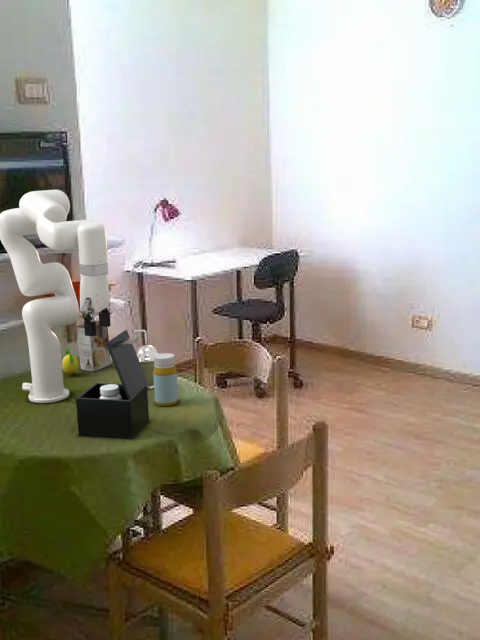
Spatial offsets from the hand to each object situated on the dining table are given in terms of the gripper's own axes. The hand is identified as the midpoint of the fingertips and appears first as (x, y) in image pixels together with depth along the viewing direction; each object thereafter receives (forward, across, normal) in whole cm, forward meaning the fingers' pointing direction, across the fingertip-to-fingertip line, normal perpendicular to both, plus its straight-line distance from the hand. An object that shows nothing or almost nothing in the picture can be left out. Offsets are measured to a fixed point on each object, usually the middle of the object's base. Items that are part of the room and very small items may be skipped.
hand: (98, 330), depth 214 cm
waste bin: (+28, +2, +4) cm, 28 cm away
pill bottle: (+27, +2, +3) cm, 27 cm away
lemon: (+29, -42, -30) cm, 59 cm away
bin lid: (+9, +2, +8) cm, 12 cm away
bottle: (+28, -20, +12) cm, 37 cm away
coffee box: (+29, -52, -25) cm, 65 cm away
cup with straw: (+28, -34, +1) cm, 44 cm away
